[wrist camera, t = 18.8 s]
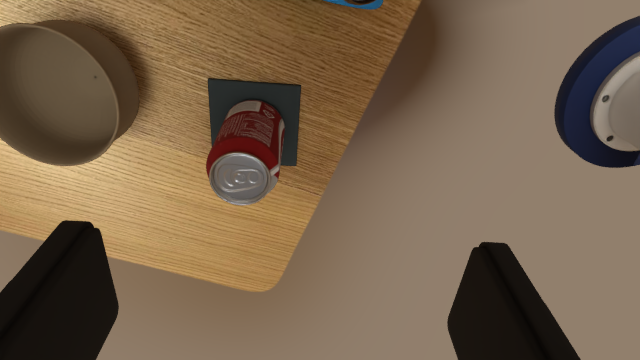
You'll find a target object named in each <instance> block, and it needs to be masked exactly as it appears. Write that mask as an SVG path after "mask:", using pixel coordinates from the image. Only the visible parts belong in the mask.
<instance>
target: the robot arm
mask: <svg viewBox="0 0 640 360" xmlns="http://www.w3.org/2000/svg"><path fill="white" fill-rule="evenodd" d="M590 124H591V127H592V130H593V132H594V134H595V135H596V136H597V138H598V139H599V140H601V141H602V142H603V143H605V144H606V145H608V146H610V147H611V148H614V149H617V150H621V151H637V150H640V52H638V53H635V54H634V55H632V56H630V57H629V58H627V59H626V60H624V61H623V62H622V63H620V64H619V65H618V66H617V67H616V68H614V69H613V70H612V72H611V73H610V74H609V75H608V76H607V77H606V78H605V79H604V81H603V82H602V84H601V85H600V86H599V88H598V90H597V92H596V94H595V96H594V98H593V101H592V105H591V108H590ZM118 307H119V306H118V300H117V297H116V293H115V288H114V284H113V280H112V276H111V272H110V268H109V264H108V260H107V256H106V252H105V248H104V243H103V239H102V235H101V232H100V230H99V229H98V228H94V226H93V224H92V223H91V222H86V221H67V220H65V221H62V222H61V223H60V224H59V225H58V226H57V227H56V229H55V230H54V231H53V232H52V233H51V234H50V236H49V237H48V238H47V239H46V240H45V242H44V243H43V244H42V245H41V246H40V247H39V249H38V250H37V251H36V252H35V253H34V254H33V256H32V257H31V258H30V259H29V261H28V262H27V263H26V264H25V265H24V266H23V267H22V269H21V270H20V271H19V272H18V273H17V274H16V276H15V277H14V278H13V279H12V280H11V281H10V282H9V283H8V284H7V285H6V287H5V288H4V289H3V290H2V291H1V292H0V360H96V358H97V356H98V354H99V352H100V350H101V348H102V346H103V344H104V342H105V340H106V338H107V336H108V334H109V332H110V330H111V328H112V326H113V324H114V322H115V320H116V318H117V315H118ZM448 331H449V334H450V337H451V340H452V343H453V346H454V349H455V352H456V354H457V357H458V360H580V358H579V357H578V355H577V353H576V352H575V350H574V348H573V347H572V345H571V344H570V342H569V340H568V339H567V337H566V336H565V334H564V333H563V331H562V329H561V328H560V326H559V325H558V323H557V322H556V320H555V318H554V317H553V315H552V314H551V312H550V310H549V309H548V307H547V306H546V304H545V303H544V302H543V300H542V299H541V297H540V295H539V294H538V292H537V291H536V289H535V287H534V286H533V284H532V283H531V281H530V279H529V278H528V276H527V275H526V273H525V272H524V270H523V268H522V267H521V265H520V264H519V262H518V260H517V259H516V257H515V256H514V254H513V252H512V251H511V249H510V248H509V246H508V245H507V244H505V243H493V242H482V243H481V244H480V245H479V247H475V248H473V250H472V252H471V255H470V257H469V260H468V263H467V266H466V269H465V271H464V274H463V277H462V280H461V283H460V286H459V288H458V291H457V294H456V297H455V300H454V302H453V305H452V308H451V311H450V314H449V316H448Z"/></svg>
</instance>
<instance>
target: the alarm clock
mask: <svg viewBox="0 0 640 360" xmlns="http://www.w3.org/2000/svg"><path fill="white" fill-rule="evenodd" d="M324 1H327V2H331V3H335V4H340V5H344V6H349V7H355V8H361V9H377V8H379V7H380V6H381V5H382V3H383V0H324Z"/></svg>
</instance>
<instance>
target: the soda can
mask: <svg viewBox="0 0 640 360" xmlns="http://www.w3.org/2000/svg"><path fill="white" fill-rule="evenodd" d="M284 132H285V126H284V122H283V119H282V117H281V115H280V114H279V112H278V111H277V110H276V109H275V108H274V107H273V106H271V105H270V104H268V103H266V102H263V101H260V100H245V101H242V102H239V103H237V104H236V105H234V106H233V107H232V108H231V109H230V110H229V112H228V113H227V115H226V117H225V120H224V122H223V124H222V126H221V129H220V131H219V133H218V135H217V137H216V140H215V142H214V144H213V146H212V149H211V151H210V153H209V155H208V158H207V163H206V169H207V174H208V177H209V181H210V185H211V187H212V189H213V191H214V192H215V193H216V194H217V195H218V196H219V197H220V198H221V199H223V200H224V201H226V202H229V203H231V204H235V205H250V204H254V203H256V202H258V201H260V200H261V199H263V198H264V197H265V196H266V195H267V194H268V193H269V192H270V191H271V190H272V189H273V188H274V186H275V185H276V183H277V181H278V178H279V172H280V164H281V156H282V148H283V140H284Z"/></svg>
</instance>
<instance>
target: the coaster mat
mask: <svg viewBox="0 0 640 360" xmlns="http://www.w3.org/2000/svg"><path fill="white" fill-rule="evenodd" d="M208 91H209V107H210V124H211V140H212V146H213V144H214V142H215V140H216V137H217V135H218V133H219V131H220V129H221V126H222V124H223V122H224V120H225V117H226V115H227V113H228V112H229V110H230V109H231V108H232V107H233V106H234V105H236V104H237V103H239V102H242V101H245V100H260V101H263V102H266V103H268V104H270V105H271V106H273V107H274V108H275V109H276V110H277V111H278V112H279V114H280V115H281V117H282V119H283V122H284V126H285V132H284V140H283V148H282V156H281V164H280V165H286V166H296V160H297V143H298V126H299V109H300V92H301V85H293V84H279V83H266V82H252V81H238V80H225V79H211V78H209V79H208Z"/></svg>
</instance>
